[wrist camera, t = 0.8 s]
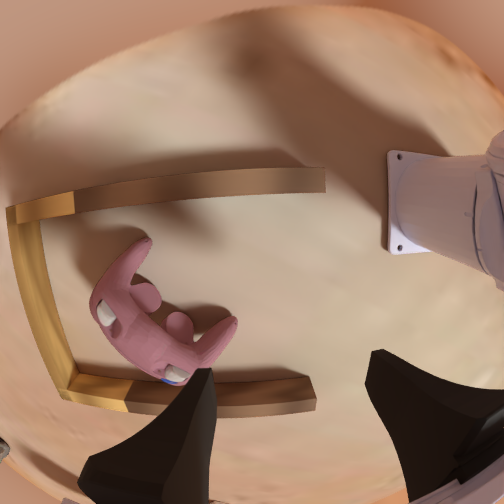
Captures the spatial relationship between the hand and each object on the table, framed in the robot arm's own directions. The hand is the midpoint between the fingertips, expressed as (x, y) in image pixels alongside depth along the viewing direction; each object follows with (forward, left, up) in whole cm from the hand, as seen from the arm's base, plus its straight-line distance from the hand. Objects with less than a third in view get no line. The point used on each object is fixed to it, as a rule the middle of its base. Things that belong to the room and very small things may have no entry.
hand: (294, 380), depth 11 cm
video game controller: (+8, 0, -10) cm, 12 cm away
